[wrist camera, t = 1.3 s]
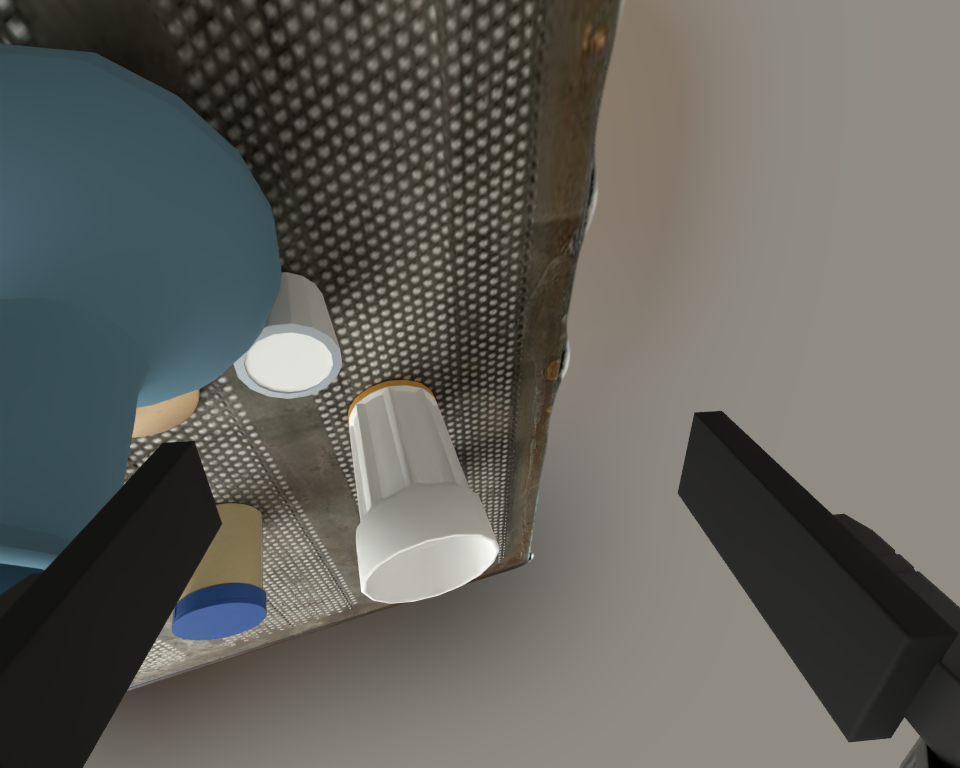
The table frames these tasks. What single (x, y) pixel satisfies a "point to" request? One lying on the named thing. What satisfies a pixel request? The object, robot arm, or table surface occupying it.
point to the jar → (232, 551)
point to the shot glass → (293, 344)
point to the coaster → (164, 414)
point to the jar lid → (219, 611)
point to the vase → (109, 280)
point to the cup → (412, 498)
